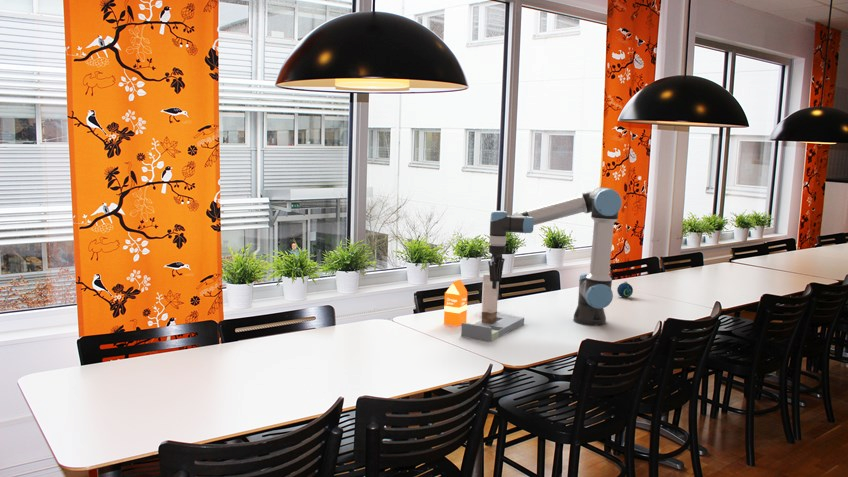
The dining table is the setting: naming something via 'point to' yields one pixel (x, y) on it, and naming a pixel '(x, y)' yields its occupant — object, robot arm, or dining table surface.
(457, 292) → the orange juice
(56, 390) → the dining table surface
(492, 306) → the milk carton
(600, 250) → the robot arm
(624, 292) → the christmas ornament
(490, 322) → the walnut cube
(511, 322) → the board
